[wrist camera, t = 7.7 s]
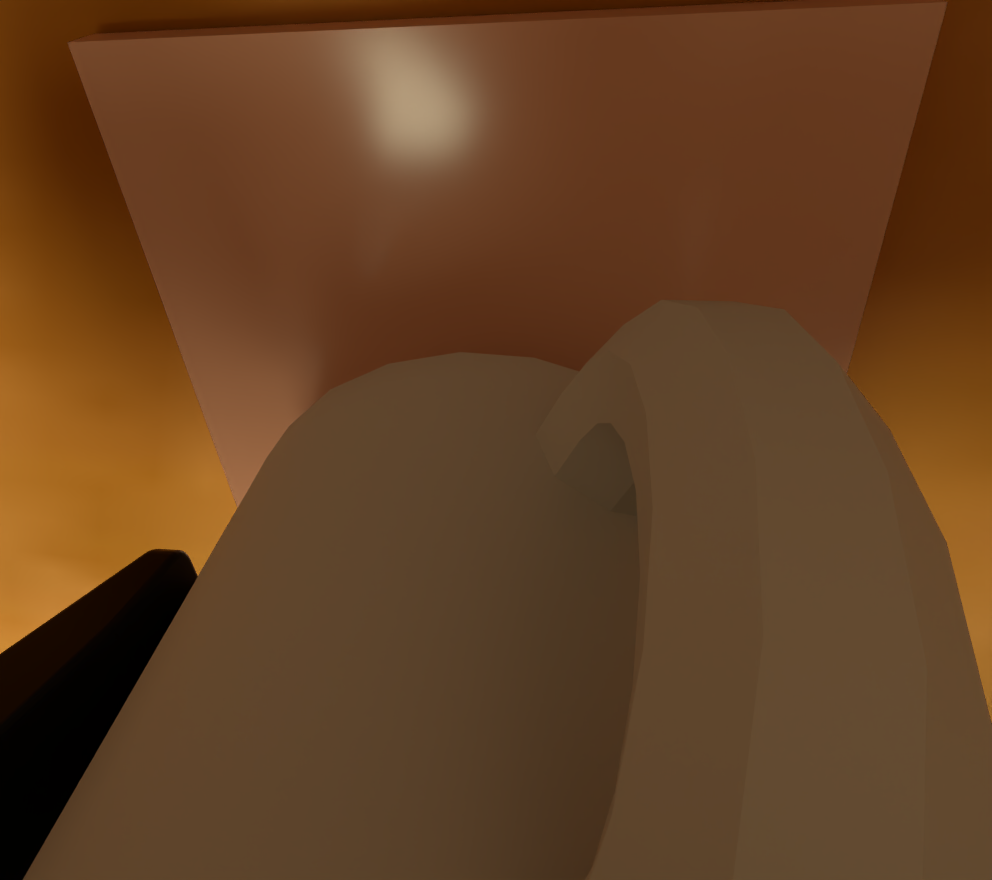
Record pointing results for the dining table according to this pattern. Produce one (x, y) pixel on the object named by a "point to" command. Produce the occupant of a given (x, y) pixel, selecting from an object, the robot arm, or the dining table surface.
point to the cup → (563, 637)
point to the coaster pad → (498, 183)
